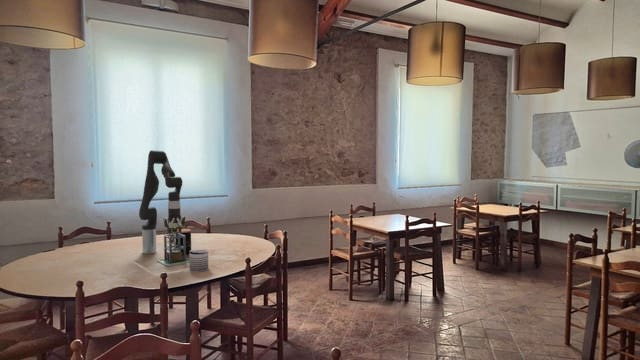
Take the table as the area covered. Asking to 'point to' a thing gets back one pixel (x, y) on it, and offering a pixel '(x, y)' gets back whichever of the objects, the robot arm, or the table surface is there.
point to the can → (198, 260)
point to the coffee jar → (188, 240)
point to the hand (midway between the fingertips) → (174, 232)
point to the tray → (173, 263)
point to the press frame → (174, 257)
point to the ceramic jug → (177, 226)
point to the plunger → (175, 239)
